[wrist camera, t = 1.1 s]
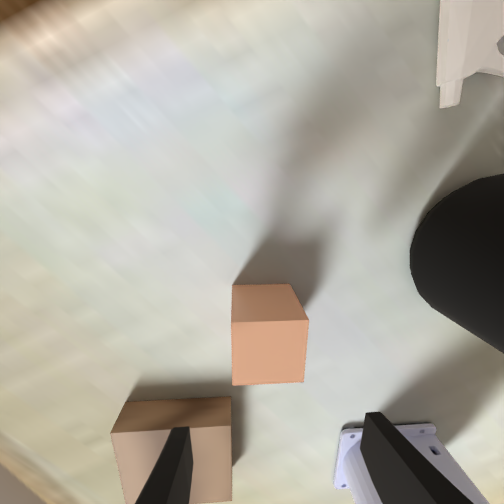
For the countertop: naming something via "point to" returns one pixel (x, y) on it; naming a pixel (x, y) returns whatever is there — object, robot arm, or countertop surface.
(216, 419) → the walnut box
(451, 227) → the coffee jar
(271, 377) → the peach block
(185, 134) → the countertop surface
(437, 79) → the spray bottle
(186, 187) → the countertop surface
